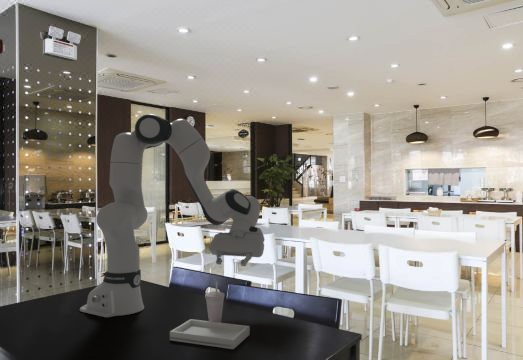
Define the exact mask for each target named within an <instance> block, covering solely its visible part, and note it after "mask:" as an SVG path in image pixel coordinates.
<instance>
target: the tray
mask: <svg viewBox="0 0 523 360" xmlns="http://www.w3.org/2000/svg"><path fill="white" fill-rule="evenodd" d="M250 326H251V325H245V324H244V325H242V324H237V323H236V324H234V323H227V322H226V323H225V322H221V323H219V322H211V321H209V320H200V319H191V318H190V319H188V320H186V321H185V322H184V323H181V325H178V326H177V327H175V328H174V329H171V330H170V331H169V341H173V342H179V343H186V344H187V343H188V344H194V345H202V346H208V347H209V346H210V347H217V348H222V349H229V350H234V349H235V348H237V347H238V346H239V345H240V344H241V343H242V342H243V341H244V340H246V338H248V337H249V336H250V333H251V332H250V331H251V330H250V329H251V328H250Z"/></svg>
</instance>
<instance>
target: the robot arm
mask: <svg viewBox="0 0 523 360" xmlns="http://www.w3.org/2000/svg"><path fill="white" fill-rule="evenodd" d="M163 144H168V145H170V147H171V148H172V149H173V150H174V151H175V154H177V155H178V157H179V158H180V160H181V163H182V164H183V169H184V172H183V173H184V177H185V179H186V180H187V183H188V185H189V187H190V189H191V190H192V192H193V193H194V196H195V198H196V199H197V201H198V204H199V205H200V208H201V210H202V214H203V216H204V218H205V220H207V222H208V223H210V225H214V226H222V225H223V224H224V223H225V222H227V221H228V220H230V219H231V220H232V224H231V225H230V226H231V227H230V229H229V231H228V232H218V233H216V234H215V235H214V236H213V238H212V240H211V241H210V243H209V246H208V249H209V252H210V254H211V255H212V256H213V255H214V256H216V260H215V264H216V265H222V263H223V260H222V256H227V257H228V256H231V257H244V259H242V258H241V260H240V266H241V267H246V266H247V264H248V263H249V262H250V261H251V260H252V258H261V257H262V256H263V255H264V251H265V236H264V234H263V231H262V229H261V228H259V227H257V226H256V225H257V223H258V220H259V219H260V215H261V214H260V213H261V203H260V201H259V199H257V198H256V197H255V196H252V195H244V194H243V193H242V192H241V191H239V190H238V189H236V188H235V189H233V188H231V189H228V190H226V191H224V192H223V193H221V194H220V195H218V196H216V197H215V196H213V194H212V192H211V190H210V188H209V186H208V184H207V183H206V181H205V176H204V175H205V170H206V168H207V166H208V164H209V162H210V158H211V150H210V148H209V146H208V144H207V143H206V141H205V140H204V138H203V137H202V135H201V134H200V133H199V131H198V130H197V129H196V128H195V127H194V126H193V125H192V124H191V123H190V122H189V121H188V120H187V119H185V118H178V119H175V120H173V121H172V122H170V121H169V120H167V119H165V118H163V117H161V116H159V115H157V114H154V113H146V114H143V115H142V116H140V117H139V118H138V119H137V120H136V122H135V125H134V130H133V131H131V132H121V133H119V134H117V135H116V136H115V137H114V139H113V143H112V149H111V153H110V164H109V166H110V167H109V182H108V183H109V187H110V188H111V190H112V193H113V197H114V202H110V203H108V204H106V205H104V206H103V207H102V208H100V209H99V210H98V212H97V215H96V224H97V226H98V228H99V229H100V230H101V232H102V234H103V237H104V242H105V245H106V254H107V255H106V257H107V259H106V260H107V261H106V262H107V263H106V264H107V266H106V267H107V268H106V271H105V272H103V273H101V276H100V277H101V278H102V277H103V279H102V282H100V283H99V284H98V285H97V286H96V287H94V288H93V289H92V290H91V291H90V292H89V293H88V295H87V301H86V304H84V305H82V306H81V307H80V308H79V311H80V312H82V313H86V314H90V315H95V316H98V317H102V318H103V317H104V318H111V317H118V316H126V315H131V314H135V313H136V314H137V313H139V312H141V311H144V309H145V306H144V302H143V298H142V292H141V279H142V274H141V273H142V270H141V268H140V253H141V251H140V250H141V249H140V247H139V245H138V244H137V241H136V236H135V232H134V230H137V229H139V228H140V227H142V226H143V225H144V224H145V223H146V221H147V218H148V210H147V208H146V206H145V201H144V195H143V194H144V193H143V189H142V187H143V186H142V182H143V181H142V178H143V160H144V159H143V158H144V152H145V150H147V149H151V148H156V147H159V146H161V145H163Z"/></svg>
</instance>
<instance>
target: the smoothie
mask: <svg viewBox="0 0 523 360" xmlns="http://www.w3.org/2000/svg"><path fill="white" fill-rule="evenodd" d="M225 296H226V295H225V293H224V292H223V291H218V280H215V291H209V292H206V293H205V294H204V298H205V301H206V302H205V303H206V309H207V316H208V321H211V322H219V323H222V317H223V309H224V307H223V306H224V300H225V299H224V298H225Z"/></svg>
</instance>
